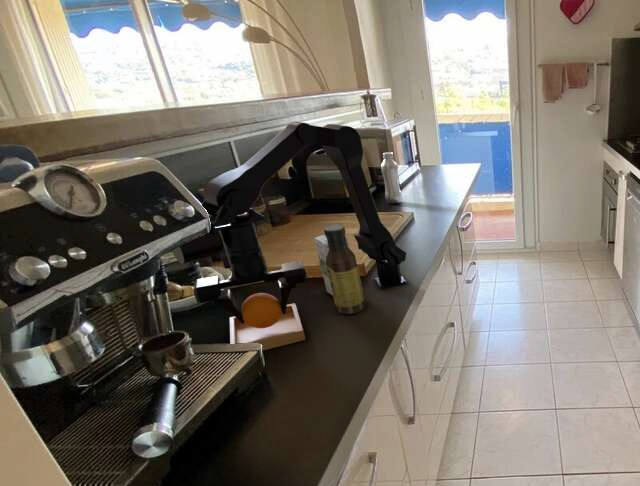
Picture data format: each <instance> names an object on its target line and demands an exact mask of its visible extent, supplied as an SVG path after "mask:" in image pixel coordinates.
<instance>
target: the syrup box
mask: <svg viewBox="0 0 640 486" xmlns="http://www.w3.org/2000/svg"><path fill="white" fill-rule="evenodd" d="M313 240H314V244H315V249H316V252H317V253H316V254H317V256H318V261H319V265H320V270H321V273H322V278H323V282H324V286H325V291H326V293H327V294H329V295H330V296H332V297H333V292H332V288H331V284H330V279H329V275H328V271H327V266H326V255H327V253H328V251H329V247H328V241H327V237H326V236H325V234H322V235H319V236H317V237H314V238H313ZM346 242H347V246H348V248H349V249H350V245H349V240H348V237H346Z"/></svg>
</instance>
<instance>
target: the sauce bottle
mask: <svg viewBox="0 0 640 486" xmlns="http://www.w3.org/2000/svg"><path fill="white" fill-rule="evenodd" d="M323 233H324V235H325V236H326V237H327V241H328V247H329V251H328V253H327V255H326V266H327V271H328V275H329V279H330V284H331V288H332V292H333V296H332V297H333V301H334V304H335V307H336V310H337V312H338V313H340V314H343V315H353V314H358V313H360V312H361V311H363V309H365V297H364V296H365V295H364V291H363V286H362V281H361V277H360V270H359V266H358V263H357V258H356V254H355V253H354V251H353V250H352V249H351V248H350V247H349V248H348V246H347V242H346V238H347V237H346V228H345V226H344V225H343V224H331V225H327V226H324V228H323Z"/></svg>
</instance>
